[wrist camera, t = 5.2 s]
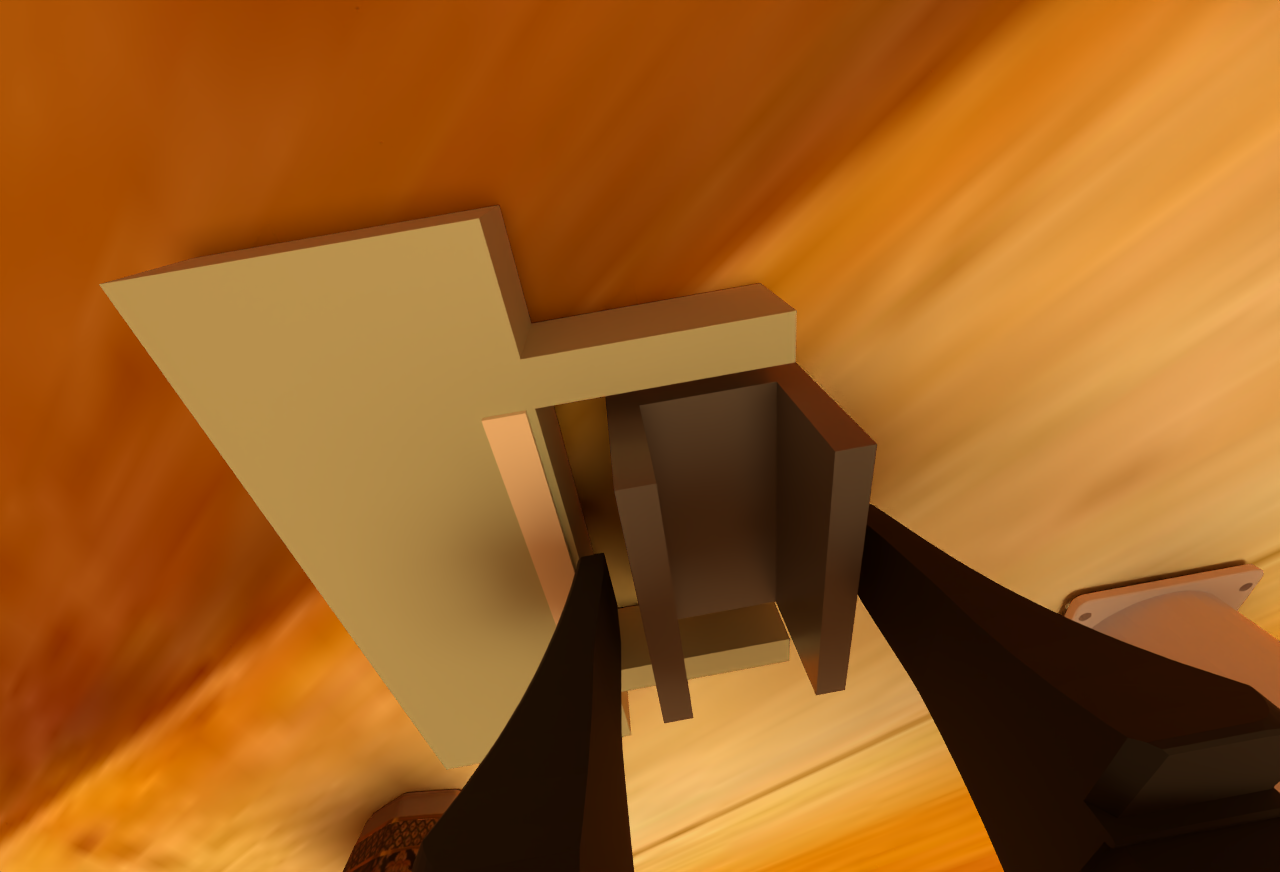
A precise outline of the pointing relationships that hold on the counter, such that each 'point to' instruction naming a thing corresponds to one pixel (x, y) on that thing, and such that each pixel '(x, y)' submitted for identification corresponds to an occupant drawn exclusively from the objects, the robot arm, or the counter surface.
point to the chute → (742, 513)
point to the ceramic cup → (398, 832)
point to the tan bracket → (437, 443)
